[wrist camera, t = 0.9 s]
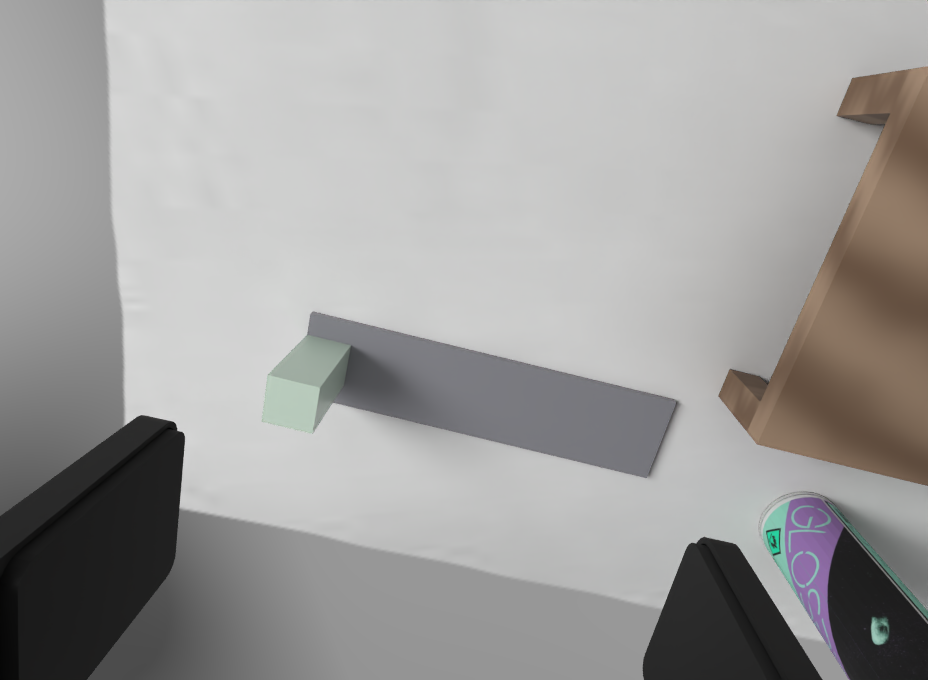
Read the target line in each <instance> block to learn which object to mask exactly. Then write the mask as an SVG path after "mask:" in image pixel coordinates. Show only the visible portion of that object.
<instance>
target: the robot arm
mask: <svg viewBox="0 0 928 680" xmlns="http://www.w3.org/2000/svg"><path fill="white" fill-rule="evenodd" d="M184 445H185V436H184V433H183V432H179V431H177V427H176V424H175V423H174V422H172V421H167V420H163V419H158V418H153V417H149V416H144V415H140V416H138V417H136V418H135V419H134V420H132V421H131V422H130V423H128V424H127V425H125V426H124V427H123V428H121V429H120V430H119V431H117V432H116V433H114V434H113V435H112V436H110V437H109V438H108V439H106V440H105V441H103V442H102V443H101V444H99V445H98V446H96V447H95V448H94V449H92V450H91V451H90V452H88V453H87V454H85V455H84V456H83V457H81V458H80V459H79V460H77V461H76V462H74V463H73V464H72V465H70V466H69V467H68V468H66V469H65V470H63V471H62V472H61V473H59V474H58V475H56V476H55V477H54V478H52V479H51V480H50V481H48V482H47V483H46V484H44V485H43V486H41V487H40V488H39V489H37V490H36V491H34V492H33V493H32V494H30V495H29V496H28V497H26V498H25V499H23V500H22V501H21V502H19V503H18V504H16V505H15V506H14V507H12V508H11V509H10V510H8V511H7V512H5V513H4V514H3V515H1V516H0V680H87V679H88V677H89V676H90V675H91V674H92V672H93V671H94V670H95V668H96V667H97V666H98V665H99V663H100V662H101V661H102V660H103V658H104V657H105V656H106V654H107V653H108V652H109V651H110V649H111V648H112V647H113V645H114V644H115V643H116V642H117V640H118V639H119V638H120V636H121V635H122V634H123V633H124V631H125V630H126V629H127V627H128V626H129V625H130V624H131V622H132V621H133V620H134V619H135V617H136V616H137V615H138V613H139V612H140V611H141V609H142V608H143V607H144V606H145V604H146V603H147V602H148V601H149V599H150V598H151V597H152V595H153V594H154V593H155V591H156V590H157V589H158V588H159V586H160V585H161V584H162V583H163V581H164V580H165V579H166V577H167V576H168V574H169V572H170V570H171V568H172V566H173V563H174V559H175V553H176V541H177V528H178V517H179V505H180V493H181V481H182V469H183V457H184ZM643 677H644V680H822V678H821V677H820V675H819V674H818V672H817V671H816V669H815V667H814V666H813V664H812V663H811V661H810V660H809V658H808V656H807V655H806V653H805V651H804V650H803V648H802V647H801V645H800V644H799V642H798V640H797V639H796V637H795V636H794V634H793V632H792V631H791V629H790V628H789V626H788V625H787V623H786V621H785V620H784V618H783V617H782V615H781V613H780V612H779V610H778V609H777V607H776V606H775V604H774V602H773V601H772V599H771V598H770V596H769V594H768V593H767V591H766V590H765V588H764V587H763V585H762V583H761V582H760V580H759V579H758V577H757V575H756V574H755V572H754V571H753V569H752V568H751V566H750V564H749V563H748V561H747V560H746V558H745V556H744V555H743V553H742V552H741V550H740V549H739V547H738V546H737V545H736V544H733V543H729V542H724V541H719V540H715V539H710V538H706V537H703V538H701V539H700V540H699V541H698V542H697V544H696V543H691V544H689V545H688V547H687V549H686V551H685V553H684V556H683V558H682V561H681V563H680V566H679V569H678V571H677V574H676V576H675V579H674V581H673V584H672V587H671V589H670V592H669V594H668V597H667V599H666V602H665V605H664V607H663V610H662V612H661V615H660V617H659V620H658V623H657V625H656V628H655V630H654V633H653V636H652V638H651V640H650V643H649V646H648V648H647V651H646V653H645V657H644V661H643Z"/></svg>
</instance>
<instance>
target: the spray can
mask: <svg viewBox="0 0 928 680" xmlns="http://www.w3.org/2000/svg"><path fill="white" fill-rule="evenodd" d="M759 532H760V536H761V538H762V541H763V542H764V544H765V546H766V548H767V549H768V551H769V552H770V554H771V556H772V557H773V559H774V560H775V562H776V564H777V565H778V567H779V568H780V570H781V572H782V573H783V575H784V576H785V578H786V580H787V581H788V583H789V584H790V586H791V588H792V589H793V591H794V592H795V594H796V596H797V597H798V599H799V600H800V602H801V604H802V605H803V607H804V608H805V610H806V612H807V613H808V615H809V616H810V618H811V620H812V621H813V623H814V624H815V626H816V628H817V629H818V631H819V632H820V634H821V636H822V637H823V639H824V640H825V642H826V644H827V645H828V647H829V648H830V650H831V652H832V653H833V655H834V656H835V658H836V660H837V661H838V663H839V664H840V666H841V668H842V669H843V671H844V672H845V674H846V675H847V677H848V679H849V680H928V611H927V610H926V609H925V608H924V606H923V605H922V604H921V603H920V602H919V601H918V600H917V598H916V597H915V596H914V595H913V594H912V593H911V592H910V591H909V589H908V588H907V587H906V586H905V585H904V584H903V583H902V581H901V580H900V579H899V578H898V577H897V576H896V575H895V573H894V572H893V571H892V570H891V569H890V568H889V567H888V565H887V564H886V563H885V562H884V561H883V560H882V559H881V558H880V556H879V555H878V554H877V553H876V552H875V551H874V550H873V548H872V547H871V546H870V545H869V544H868V543H867V542H866V540H865V539H864V538H863V537H862V536H861V535H860V534H859V532H858V531H857V530H856V529H855V528H854V527H853V526H852V525H851V523H850V522H849V521H848V520H847V519H846V518H845V517H844V515H843V514H842V513H841V512H840V511H839V510H838V509H837V507H836V506H835V505H833V503H832V502H830V501H829V500H828V499H827V498H825V497H823V496H821V495H819V494H816V493H811V492H796V493H791V494H788V495H785V496H782V497H781V498H779V499H777V500H775V501H774V502H773V503H772V504H770V505H769V506H768V508H767V509H766V510H765V511H764V513H763V515H762V516H761V519H760V522H759Z"/></svg>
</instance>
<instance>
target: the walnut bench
mask: <svg viewBox="0 0 928 680" xmlns="http://www.w3.org/2000/svg"><path fill="white" fill-rule="evenodd" d="M837 116H840V117H844V118H848V119H852V120H856V121H860V122H864V123H868V124H885V126H884V129H883V131H882V133H881V135H880V137H879V140H878V142H877V144H876V146H875V149H874V151H873V153H872V155H871V157H870V160H869V162H868V164H867V166H866V169H865V171H864V173H863V175H862V177H861V180H860V182H859V184H858V186H857V188H856V191H855V193H854V195H853V197H852V200H851V202H850V204H849V206H848V208H847V211H846V213H845V215H844V217H843V220H842V222H841V224H840V226H839V228H838V231H837V233H836V235H835V237H834V240H833V242H832V244H831V246H830V248H829V251H828V253H827V255H826V257H825V260H824V262H823V264H822V266H821V268H820V271H819V273H818V275H817V277H816V280H815V282H814V284H813V286H812V288H811V291H810V293H809V295H808V297H807V300H806V302H805V304H804V306H803V308H802V311H801V313H800V315H799V317H798V320H797V322H796V324H795V326H794V328H793V331H792V333H791V335H790V337H789V339H788V342H787V344H786V346H785V348H784V351H783V353H782V355H781V357H780V359H779V362H778V364H777V366H776V368H775V371H774V373H773V375H772V377H771V379H770V382H769V384H768V385H767V384H766V383H765V382H764V381H763V380H762V379H761V378H760V377H759V376H755V375H751V374H747V373H743V372H739V371H735V370H731V369H730V370H729V372H728V375H727V377H726V379H725V382H724V384H723V386H722V389H721V391H720V394H719V397H720V399H721V400H722V401H723V402H724V404H725V405H726V406H727V407H728V409H729V410H730V411H731V412H732V414H733V415H734V416H735V417H736V419H737V420H738V421H739V422H740V424H741V425H742V426H743V427H744V429H745V430H746V431H747V432H748V434H749V435H750V436H751V437H752V439H753V440H754V441H755V442H756V444H758V445H762V446H766V447H770V448H774V449H778V450H782V451H786V452H791V453H795V454H799V455H803V456H807V457H811V458H815V459H819V460H824V461H828V462H832V463H836V464H840V465H844V466H848V467H852V468H857V469H861V470H865V471H869V472H873V473H877V474H881V475H885V476H889V477H894V478H898V479H902V480H906V481H910V482H914V483H918V484H922V485H927V486H928V67H921V68H915V69H908V70H902V71H895V72H889V73H882V74H876V75H870V76H863V77H857V78H852V80H851V83H850V85H849V88H848V90H847V92H846V95H845V97H844V99H843V102H842V104H841V107H840V109H839V111H838V114H837Z"/></svg>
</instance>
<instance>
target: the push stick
mask: <svg viewBox="0 0 928 680" xmlns="http://www.w3.org/2000/svg"><path fill="white" fill-rule="evenodd" d="M332 403H337V404H342V405H346V406H350V407H354V408H358V409H362V410H367V411H371V412H375V413H379V414H383V415H387V416H391V417H396V418H400V419H404V420H408V421H412V422H416V423H420V424H425V425H429V426H433V427H437V428H441V429H445V430H449V431H454V432H458V433H462V434H466V435H470V436H474V437H478V438H483V439H487V440H491V441H495V442H499V443H503V444H507V445H512V446H516V447H520V448H524V449H528V450H532V451H537V452H541V453H545V454H549V455H553V456H557V457H561V458H566V459H570V460H574V461H578V462H582V463H586V464H590V465H595V466H599V467H603V468H607V469H611V470H615V471H619V472H624V473H628V474H632V475H636V476H640V477H644V478H647V476H648V473H649V471H650V468H651V466H652V463H653V461H654V458H655V456H656V453H657V451H658V448H659V446H660V443H661V441H662V438H663V436H664V433H665V430H666V428H667V425H668V423H669V420H670V418H671V415H672V413H673V410H674V408H675V405H676V401H675V400H674V399H670V398H666V397H662V396H658V395H654V394H650V393H646V392H641V391H637V390H633V389H629V388H625V387H621V386H617V385H613V384H609V383H604V382H600V381H596V380H592V379H588V378H584V377H580V376H576V375H572V374H567V373H563V372H559V371H555V370H551V369H547V368H543V367H539V366H535V365H530V364H526V363H522V362H518V361H514V360H510V359H506V358H502V357H498V356H493V355H489V354H485V353H481V352H477V351H473V350H469V349H465V348H461V347H456V346H452V345H448V344H444V343H440V342H436V341H432V340H428V339H424V338H419V337H415V336H411V335H407V334H403V333H399V332H395V331H391V330H386V329H382V328H378V327H374V326H370V325H366V324H362V323H358V322H354V321H349V320H345V319H341V318H337V317H333V316H329V315H325V314H321V313H317V312H312V313H311V314H310V321H309V327H308V334H307V336H306V337H305V338H304V339H303V340H302V341H301V342H300V343H299V344H298V345H297V346H296V347H295V348H294V349H293V350H292V351H291V352H290V353H289V354H288V355H287V356H286V357H285V358H284V359H283V360H282V361H281V362H280V363H279V364H278V365H277V366H276V367H275V368H274V369H273V370H272V371H271V372H270V373H269V374H268V376H267V384H266V392H265V400H264V407H263V415H262V422H265V423H269V424H274V425H278V426H282V427H286V428H290V429H294V430H298V431H303V432H307V433H311V434H313V432H314V431H315V429H316V428H317V426H318V425H319V423H320V421H321V420H322V418H323V417H324V415H325V414H326V412H327V411H328V409H329V408H330V406H331V404H332Z"/></svg>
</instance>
